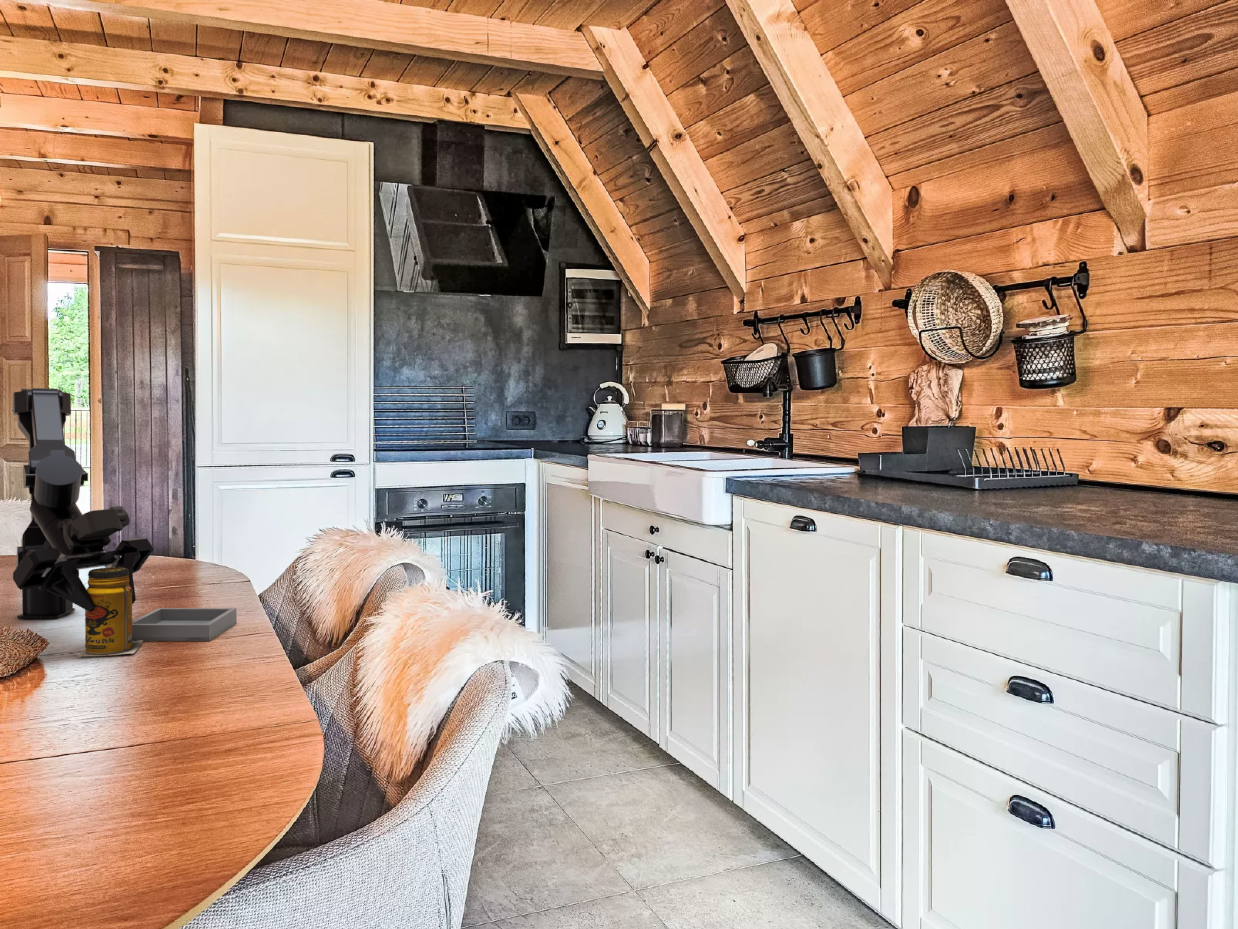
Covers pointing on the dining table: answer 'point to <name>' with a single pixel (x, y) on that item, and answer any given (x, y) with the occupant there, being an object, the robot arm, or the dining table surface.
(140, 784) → the dining table surface
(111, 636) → the condiment
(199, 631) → the tray
